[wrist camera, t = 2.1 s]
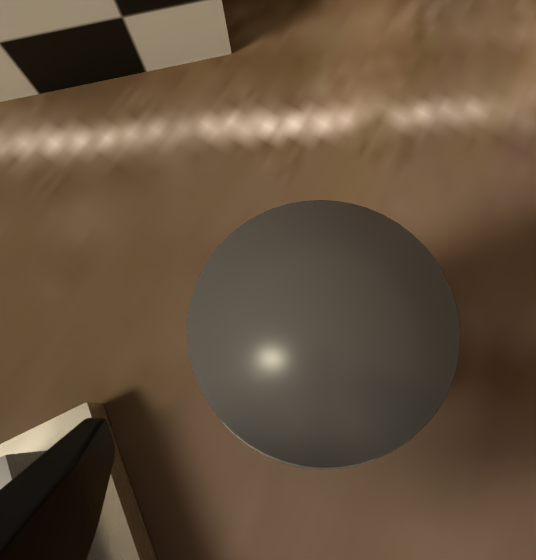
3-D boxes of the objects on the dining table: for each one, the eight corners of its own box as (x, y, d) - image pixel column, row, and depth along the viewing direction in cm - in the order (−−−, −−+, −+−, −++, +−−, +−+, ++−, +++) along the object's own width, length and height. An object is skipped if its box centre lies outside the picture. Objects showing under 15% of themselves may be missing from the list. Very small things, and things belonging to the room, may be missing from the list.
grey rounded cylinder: (398, 392, 18) (529, 351, 8) (296, 472, 18) (292, 543, 7) (320, 294, 20) (342, 150, 9) (223, 364, 19) (131, 294, 9)
